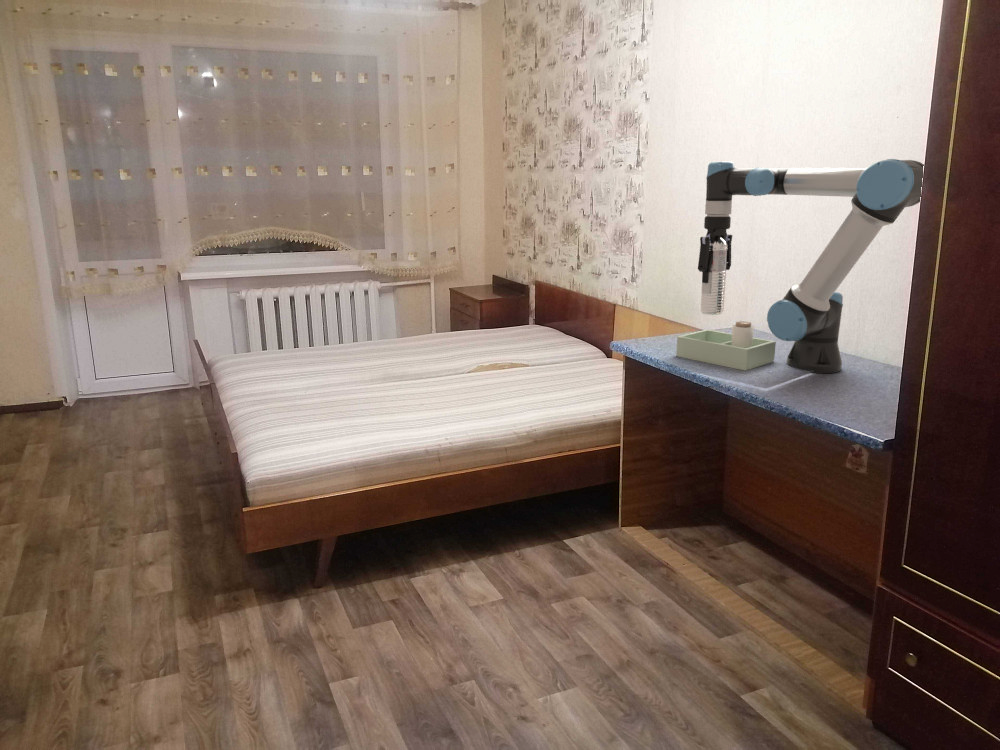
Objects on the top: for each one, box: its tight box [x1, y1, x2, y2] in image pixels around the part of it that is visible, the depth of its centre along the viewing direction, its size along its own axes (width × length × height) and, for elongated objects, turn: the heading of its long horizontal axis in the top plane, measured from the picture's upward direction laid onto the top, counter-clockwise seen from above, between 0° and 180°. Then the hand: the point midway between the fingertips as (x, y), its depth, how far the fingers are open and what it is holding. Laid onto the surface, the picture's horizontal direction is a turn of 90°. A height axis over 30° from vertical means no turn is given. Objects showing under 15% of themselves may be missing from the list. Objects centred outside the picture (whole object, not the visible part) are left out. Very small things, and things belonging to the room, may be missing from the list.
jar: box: [731, 320, 755, 348], centre depth 226 cm, size 6×6×12 cm
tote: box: [675, 329, 777, 372], centre depth 230 cm, size 24×16×7 cm, turn 41°
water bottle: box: [700, 237, 728, 316], centre depth 228 cm, size 7×7×25 cm
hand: (713, 292), depth 230 cm, fingers closed on water bottle, 7 cm apart
